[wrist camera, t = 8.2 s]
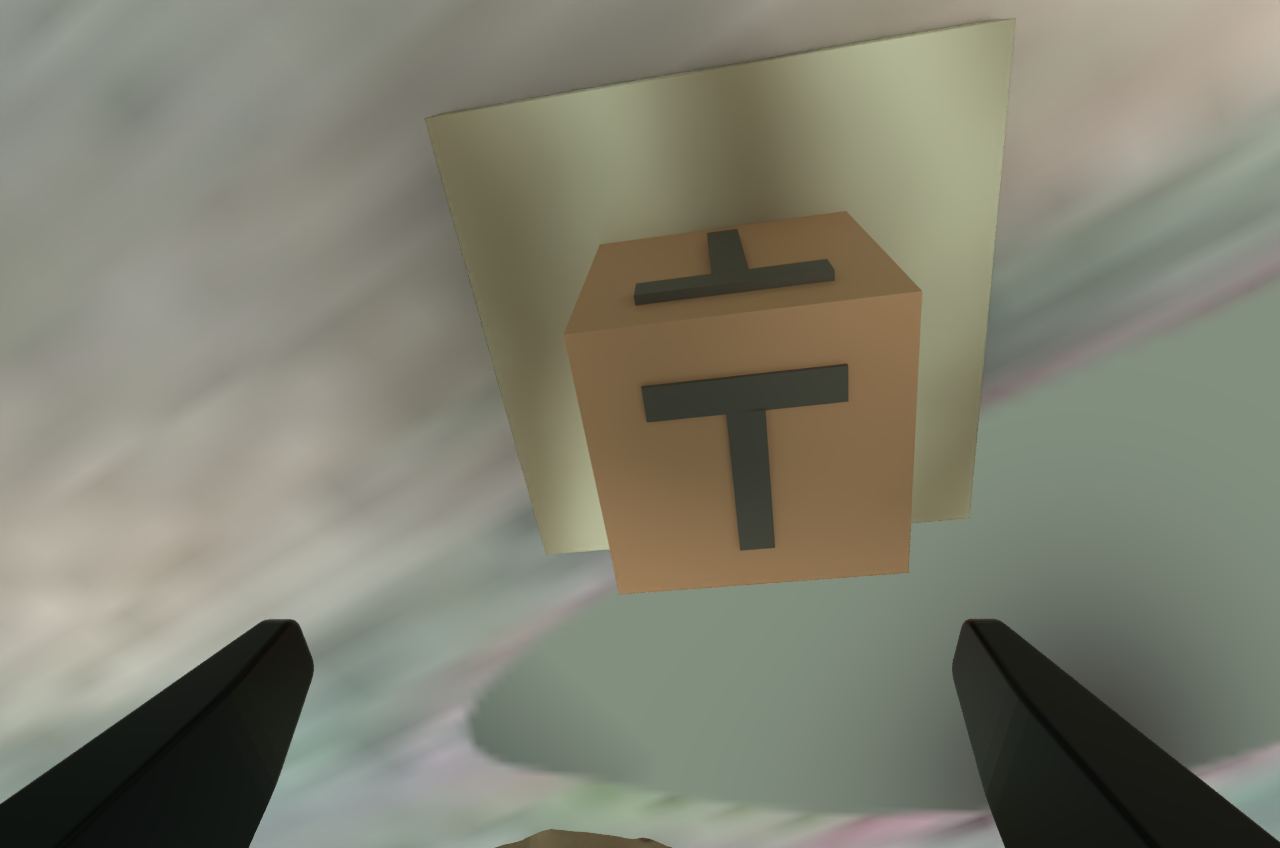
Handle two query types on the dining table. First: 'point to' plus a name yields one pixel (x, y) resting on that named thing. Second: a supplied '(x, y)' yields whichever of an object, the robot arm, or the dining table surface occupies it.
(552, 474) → the cream flat square slab
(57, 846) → the robot arm
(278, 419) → the dining table surface
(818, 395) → the letter cube
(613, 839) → the food dish
